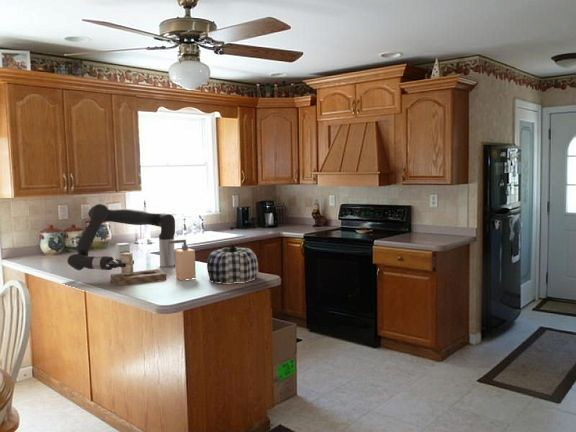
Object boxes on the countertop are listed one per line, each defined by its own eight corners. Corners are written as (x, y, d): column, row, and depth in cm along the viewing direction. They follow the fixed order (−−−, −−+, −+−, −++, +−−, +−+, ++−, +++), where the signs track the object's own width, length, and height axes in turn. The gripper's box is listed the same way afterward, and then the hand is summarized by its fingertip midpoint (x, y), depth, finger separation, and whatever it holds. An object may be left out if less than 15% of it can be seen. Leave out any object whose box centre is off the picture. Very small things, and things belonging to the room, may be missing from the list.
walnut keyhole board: (157, 275, 300) (157, 269, 300) (166, 279, 287) (166, 273, 287) (111, 280, 287) (110, 274, 286) (118, 285, 273) (118, 279, 273)
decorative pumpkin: (222, 287, 266) (221, 249, 264) (196, 278, 289) (195, 243, 288) (269, 280, 283) (269, 243, 281) (242, 272, 307) (241, 238, 305)
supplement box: (119, 263, 340) (118, 244, 339) (115, 262, 346) (115, 243, 345) (130, 262, 344) (129, 243, 343) (126, 261, 350) (126, 242, 349)
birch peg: (126, 280, 287) (124, 252, 285) (134, 280, 286) (133, 252, 284) (120, 282, 282) (119, 254, 280) (129, 282, 280) (128, 254, 279)
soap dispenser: (190, 276, 295) (189, 238, 293) (195, 279, 288) (194, 239, 286) (168, 279, 289) (167, 239, 287) (173, 281, 282) (172, 241, 280)
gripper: (95, 258, 279) (122, 259, 275) (110, 254, 293) (136, 254, 289) (95, 272, 279) (123, 273, 276) (110, 267, 293) (136, 268, 290)
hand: (129, 263), depth 282 cm, fingers open, 8 cm apart
